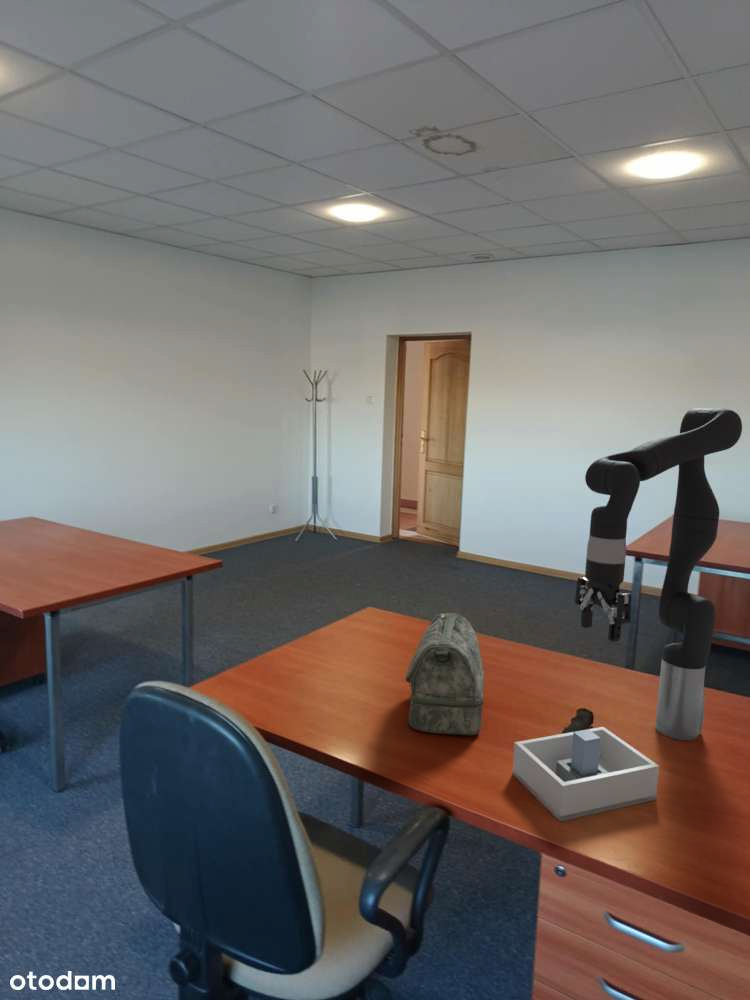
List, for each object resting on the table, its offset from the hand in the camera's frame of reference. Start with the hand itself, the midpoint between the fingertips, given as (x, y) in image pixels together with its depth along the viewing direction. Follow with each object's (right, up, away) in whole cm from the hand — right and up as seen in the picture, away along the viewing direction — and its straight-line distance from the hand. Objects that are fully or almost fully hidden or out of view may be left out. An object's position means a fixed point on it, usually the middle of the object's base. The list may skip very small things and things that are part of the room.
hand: (599, 633), depth 135 cm
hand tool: (-1, -27, +13) cm, 30 cm away
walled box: (-6, -29, -6) cm, 30 cm away
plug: (-5, -28, -6) cm, 29 cm away
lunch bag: (-30, -24, +24) cm, 45 cm away
